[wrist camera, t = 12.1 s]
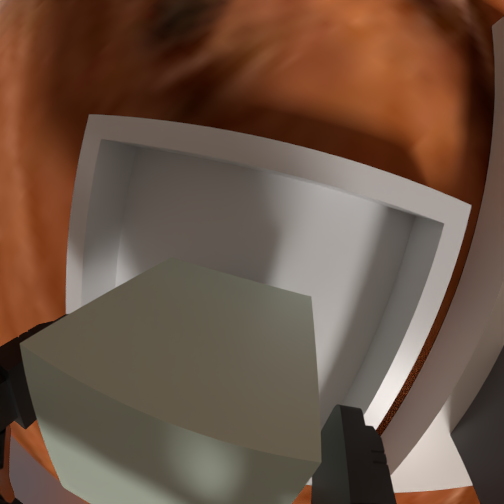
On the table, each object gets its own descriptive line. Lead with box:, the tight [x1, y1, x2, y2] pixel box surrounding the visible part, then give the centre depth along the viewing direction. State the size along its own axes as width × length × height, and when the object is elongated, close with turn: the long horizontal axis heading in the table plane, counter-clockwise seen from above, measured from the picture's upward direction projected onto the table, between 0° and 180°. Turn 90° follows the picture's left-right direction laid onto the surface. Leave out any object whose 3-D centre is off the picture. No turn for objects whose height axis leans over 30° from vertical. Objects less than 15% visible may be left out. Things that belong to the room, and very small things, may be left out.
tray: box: [66, 114, 472, 485], centre depth 13 cm, size 15×15×4 cm
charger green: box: [20, 257, 321, 504], centre depth 9 cm, size 5×5×10 cm
